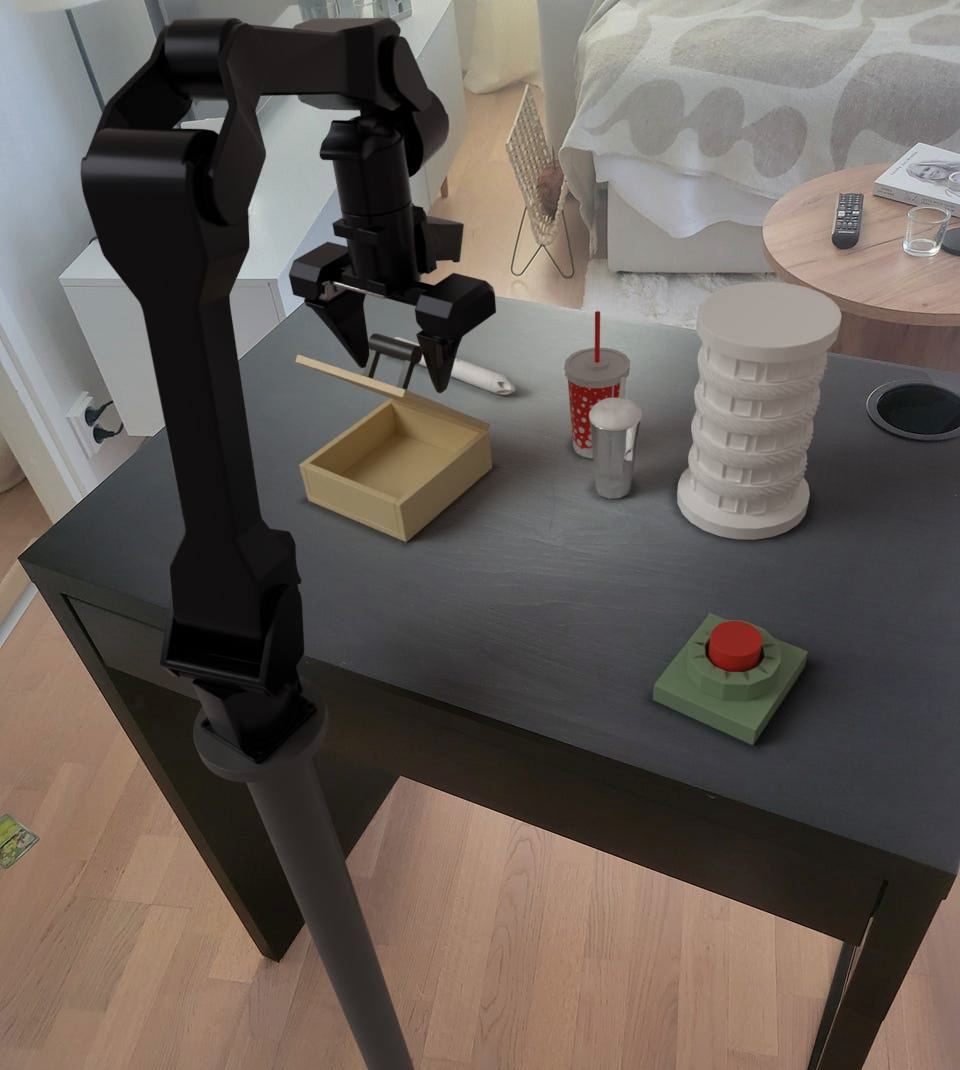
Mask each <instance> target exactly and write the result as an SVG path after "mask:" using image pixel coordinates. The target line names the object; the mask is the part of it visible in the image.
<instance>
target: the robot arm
mask: <svg viewBox="0 0 960 1070" xmlns="http://www.w3.org/2000/svg"><path fill="white" fill-rule="evenodd" d="M401 31H402V30H401V27H400V26H399V24H398V23H397V21H396V20H395V19H393V18H391V17H340V18H339V17H337V18H335V17H334V18H333V17H332V18H325V17H324V18H322V17H321V18H312V19H308V20H306V21H303V22H300V23H298V24H295V25H294V26H293V27H291V28H289V27H279V26H271V25H270V26H269V25H260V24H251V23H248V22H244V21H242V20H241V19H239V18H238V17H182V18H177V19H174V20H172V22H171V23H169V24H166V25H163V27H162V28H161V30H160V32H159V33H158V36H157V38H156V40H155V44H154V46H153V49H152V52H151V54H150V57H149V58H148V60H147V61H146V62H145V63H144V64H143V65H142V66H141V67H140V68H139V69H137V71H136V72H135V73H134V74H133V75H132V76H131V77H130V78H129V79H128V80H127V81H126V82H125V83H124V84H123V85H122V86H121V87H120V88H119V89H118V91H116V92H115V93H114V94H113V95H112V96H111V98H109V99H108V101H107V102H106V104H105V106H104V108H103V111H102V113H101V116H100V117H99V121H98V124H97V126H96V129H95V130H94V131H95V132H94V133H93V137H92V139H91V142H90V144H89V147H88V149H87V151H86V154H85V156H83V157H82V158H81V161H80V173H79V174H80V183H81V190H82V191H81V192H82V195H83V198H84V202H85V205H86V209H87V211H88V214H89V218H90V221H91V223H92V226H93V229H94V232H95V235H96V238H97V241H98V245H99V247H100V251H101V253H102V256H103V257H104V259H105V260H106V261H107V262H108V264H109V265H110V267H111V268H112V269H113V270H114V272H115V273H116V274H117V276H118V277H119V278H120V279H121V281H122V282H123V283H124V285H125V286H126V287H127V289H128V290H129V291H130V292H131V294H132V295H133V296H134V297H135V299H136V300H137V301H138V303H139V304H140V308H141V311H142V315H143V320H144V325H145V331H146V335H147V340H148V346H149V351H150V356H151V361H152V366H153V372H154V376H155V381H156V386H157V393H158V396H159V402H160V408H161V412H162V417H163V422H164V427H165V432H166V439H167V443H168V448H169V454H170V458H171V463H172V468H173V473H174V478H175V479H174V480H175V484H176V488H177V495H178V501H179V504H180V509H181V515H182V521H183V526H184V532H183V535H182V537H181V539H180V541H179V543H178V545H177V548H176V550H175V552H174V553H173V556H172V558H171V560H170V563H169V565H168V575H169V576H168V577H169V584H170V585H169V586H170V587H169V588H170V599H169V605H168V612H167V616H166V622H165V629H164V635H163V639H162V640H163V641H162V647H161V651H160V652H161V653H160V657H159V658H160V659H159V665H160V667H161V668H162V669H164V670H165V671H166V672H167V673H168V674H170V676H172V677H177V678H180V677H181V678H187V679H192V685H193V688H194V690H195V692H196V695H197V697H198V699H199V701H200V704H201V707H203V708H204V711H205V713H206V715H207V718H206V719H205V720H204V721H203V722H202V723H201V728H202V730H203V732H205V733H207V734H208V735H210V736H211V737H213V738H215V739H216V740H218V741H219V742H221V743H222V744H224V745H226V746H227V747H229V748H230V749H232V750H234V751H235V752H237V753H238V754H240V755H242V756H243V757H245V758H246V759H248V760H250V761H251V762H253V763H255V764H260V763H262V762H264V761H265V760H266V759H267V758H268V757H269V756H270V755H271V754H272V753H273V752H274V751H275V750H277V749H278V748H279V747H280V746H281V745H282V744H283V743H284V742H285V741H286V740H287V739H288V738H289V737H290V736H291V735H292V734H293V733H295V732H296V731H297V730H298V729H299V728H300V727H301V726H302V725H303V724H304V723H305V722H306V721H307V720H308V719H309V718H310V717H312V716H313V715H314V714H315V713H316V711H317V708H316V705H315V703H313V702H312V701H310V700H308V699H306V698H304V697H303V696H301V695H300V694H301V693H302V692H303V688H302V684H301V681H300V678H299V675H300V674H299V672H298V669H297V666H298V664H299V662H300V661H301V659H302V658H303V656H304V654H305V635H304V616H303V615H304V614H303V613H304V611H303V598H302V594H301V592H300V589H299V585H301V584H302V578H301V575H300V574H299V570H298V565H297V545H296V541H295V539H294V537H293V535H292V533H291V532H290V531H288V530H282V529H277V528H270V526H269V525H268V524H267V523H266V522H265V520H264V519H263V517H262V512H261V506H260V501H259V500H260V499H259V494H258V485H257V480H256V479H257V478H256V473H255V472H256V471H255V465H254V457H253V452H252V444H251V438H250V437H251V436H250V431H249V423H248V417H247V413H246V412H247V409H246V405H245V404H246V403H245V397H244V389H243V384H242V383H243V382H242V377H241V370H240V362H239V356H238V349H237V342H236V335H235V329H234V322H233V314H232V308H231V293H232V290H233V289H234V286H235V283H236V281H237V279H238V276H239V274H240V271H241V269H242V267H243V265H244V262H245V260H246V258H247V255H248V253H249V250H250V246H251V244H250V219H249V218H250V217H249V208H250V205H251V203H252V199H253V197H254V194H255V191H256V188H257V185H258V182H259V179H260V176H261V174H262V170H263V167H264V164H265V162H266V158H267V149H266V145H265V143H264V138H263V134H262V130H261V127H260V122H259V119H258V116H257V108H258V105H259V102H260V99H261V97H269V96H270V97H274V96H275V97H276V96H297V99H298V100H299V102H300V103H302V104H305V105H308V106H310V107H313V108H316V109H318V110H323V111H324V110H326V111H327V110H328V111H329V110H332V111H358V112H359V115H357V116H354V117H350V118H349V119H333V120H331V121H330V127H329V130H328V133H327V135H326V136H325V137H324V139H323V140H322V142H321V145H320V148H319V158H320V160H322V161H332V167H333V173H334V178H335V182H336V189H337V195H338V200H339V206H340V213H341V218H339V219H337V220H335V221H334V222H332V229H333V230H332V231H333V235H334V237H337V238H342V239H345V240H346V241H345V242H346V245H344V244H339V243H335V242H331V241H326V242H324V243H322V244H321V245H318V246H317V247H315V248H313V249H312V250H310V251H308V252H306V253H304V254H303V255H301V256H299V257H297V258H296V259H295V258H294V260H293V261H292V263H291V267H290V270H289V272H288V278H289V282H290V287H291V291H292V295H293V296H296V297H299V298H302V299H303V303H304V305H305V306H306V307H307V308H310V309H311V310H312V311H314V313H315V314H316V315H317V316H318V318H319V319H320V320H321V321H322V322H323V324H325V326H326V327H327V328H328V329H329V330H330V331H331V333H332V334H333V335H334V336H335V338H336V339H337V340H338V341H339V343H340V344H341V345H342V347H343V348H344V349H345V350H346V352H347V353H348V355H349V356H350V357H351V358H352V360H353V361H354V362H355V363H356V365H357V366H358V367H359V368H360V369H365V368H366V364H367V361H368V358H369V355H370V349H369V345H368V343H369V335H368V329H367V322H366V316H365V315H366V314H365V307H364V303H365V300H366V296H367V295H368V296H371V297H375V298H379V299H382V300H385V299H387V300H391V301H394V302H398V303H401V304H406V305H409V306H413V307H415V308H414V314H415V322H416V324H417V325H418V326H419V327H420V329H421V330H420V331H418V332H417V333H416V334H415V335H416V339H417V343H418V344H419V345H420V348H421V351H422V354H423V357H424V360H425V363H426V366H427V367H426V369H427V371H428V375H429V378H430V380H431V383H432V385H433V387H434V389H435V392H436V393H437V394H442V393H443V392H445V391H447V389H448V387H449V384H450V379H451V372H452V369H453V365H454V361H455V358H457V353H458V351H459V347H460V345H461V342H462V341H463V337H465V336H466V335H467V334H469V333H470V332H471V331H472V330H474V329H475V328H477V327H478V326H480V325H481V324H482V323H484V322H485V321H486V320H488V319H489V318H490V317H492V316H493V315H495V314H496V313H497V304H496V302H497V301H496V292H495V288H494V286H493V285H492V284H490V282H488V281H487V280H484V279H480V278H476V277H472V276H469V275H464V274H460V273H457V272H452V273H451V274H449V275H447V276H446V277H444V278H443V279H442V280H440V281H438V282H437V283H435V284H431V283H428V282H423V281H421V280H422V275H424V274H426V275H430V274H432V273H433V272H434V271H436V270H437V269H438V266H437V265H438V264H437V262H443V261H444V262H447V261H451V262H452V263H456V264H457V263H460V262H461V255H462V247H463V246H462V245H463V237H464V229H465V223H463V222H460V221H456V220H450V219H445V218H441V217H437V216H432V215H427V212H426V211H425V210H424V207H423V206H420V205H419V206H418V205H415V204H414V203H413V199H412V192H411V182H410V178H412V177H414V176H415V175H416V174H417V173H418V172H419V171H420V170H421V169H422V168H423V167H424V166H425V165H426V164H427V163H428V162H429V161H430V160H431V159H432V158H433V157H434V156H435V155H436V154H437V153H438V152H439V151H440V150H441V148H443V147H444V145H445V143H446V142H447V140H448V136H449V132H450V119H449V114H448V113H447V112H446V107H445V106H444V104H443V103H442V101H441V99H440V97H438V96H437V94H436V93H434V92H433V90H432V89H429V87H428V85H427V83H426V80H425V77H424V76H423V74H422V73H423V72H422V71H421V69H420V67H419V64H418V62H417V60H416V57H415V55H414V53H413V50H412V48H411V46H410V44H409V41H408V39H407V38H406V37H405V36H401ZM194 101H196V102H198V101H202V102H203V101H204V102H227V105H228V107H227V110H226V113H225V116H224V119H223V122H222V125H221V127H220V129H219V133H218V132H216V131H215V130H213V129H206V128H186V127H185V128H183V127H179V128H178V127H176V125H178V123H180V121H181V120H183V119H184V117H185V116H187V114H188V113H189V112H190V110H191V108H192V105H193V102H194ZM309 708H312V709H309ZM308 709H309V710H308ZM207 725H209V726H207ZM206 726H207V727H206ZM257 756H260V757H259V758H256V757H257Z"/></svg>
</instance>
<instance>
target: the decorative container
mask: <svg viewBox="0 0 960 1070" xmlns="http://www.w3.org/2000/svg"><path fill="white" fill-rule="evenodd" d="M696 311H697V313H696V322H695V323H696V324H695V326H696V335H697V336H698V338H699V339H700V341H701V342H702V344H701V346H700V348H699V351H698V354H697V358H696V360H697V367H698V374H699V378H698V381H697V383H696V385H695V388H694V392H693V397H694V404H695V408H696V411H695V413H694V416H693V417H692V421H691V425H690V429H691V431H690V432H691V436H692V441H693V442H692V445H691V447H690V449H689V451H688V456H687V458H688V467H687V468H686V469H685V470H684V471H683V472H682V473H681V475H680V478H679V480H678V483H677V492H676V500H677V506H678V508H679V510H680V512H681V514H682V515H683V516H684V517H685V518H686V519H687V520H688V521H689V522H690V523H691V524H692V525H694V526H695V527H697V528H699V529H701V530H702V531H704V532H707V533H709V534H713V535H715V536H717V537H722V538H727V539H732V540H733V539H734V540H747V541H748V540H750V541H754V540H755V541H756V540H762V539H768V538H774V537H777V536H779V535H782V534H784V533H787V532H788V531H790V530H792V529H793V528H795V527H796V526H798V525H799V524H800V523H801V522H802V520H803V519H804V518H805V516H806V513H807V511H808V507H809V506H808V505H809V501H810V496H811V493H810V488H809V487H810V486H809V483H808V482H807V480H806V479H805V477H804V476H805V471H807V466H808V465H809V464H808V462H807V461H808V455H807V451H808V450H809V449H810V445H811V443H812V440H813V439H814V435H813V434H814V433H815V431H814V428H815V425H814V421H813V419H814V417H815V416H816V414H817V411H818V407H819V406H820V405H821V403H820V402H819V401H820V400H821V397H820V396H821V389H820V383H821V382H822V381H823V379H824V376H825V372H826V370H827V369H828V367H827V365H828V363H829V362H828V361H827V360H828V354H827V350H828V349H830V348H831V347H832V346H833V344H835V342H836V341H837V339H838V336H839V332H840V327H841V322H842V317H843V315H842V312H841V309H840V306H838V305H837V303H836V302H835V301H833V299H832V298H830V297H828V296H827V295H825V294H823V293H822V292H820V291H818V290H815V289H813V288H809V287H806V286H803V285H797V284H793V283H788V282H776V281H753V282H746V283H738V284H734V285H729V286H728V287H723V288H721V289H718V290H717V291H714V292H713V293H710V294H709V295H708V296H707V297H705V299H703V300H702V301H701V302H700V304H699V306H698V308H697V310H696Z"/></svg>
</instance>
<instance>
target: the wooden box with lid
mask: <svg viewBox="0 0 960 1070" xmlns="http://www.w3.org/2000/svg"><path fill="white" fill-rule="evenodd" d="M394 338H395V337H391V336H387V335H384V334H381V333H377V332H375V333H372V334H371V335H370V337H369V338H368V342H369V343H368V345H369V353H370V355H369V358H368V361H367V364H366V367H365V368H364V371H363V373H362V374H359V373H356V372H353V371H350V370H347V369H344V368H342V367H338V366H336V365H332V364H328V363H326V362H323V361H321V360H317V359H314V358H311V357H308V356H304V355H302V354H299V353H297V355H296V358H295V363H297V364H299V365H302V366H304V367H308V368H310V369H313V370H315V371H318V372H320V373H323V374H325V375H328V376H331V377H334V378H335V379H338V380H341V381H344V382H347V383H349V384H351V385H354V386H357V387H360V388H363V389H365V390H368V391H370V392H374V393H375V394H378V395H380V396H383V397H386V398H388V399H390V398H391V399H394V400H397V401H400V402H403V403H406V404H409V405H412V406H415V407H418V408H421V409H424V410H427V411H430V412H433V413H436V414H439V415H442V416H445V417H448V418H450V419H453V420H456V421H459V422H462V423H465V424H468V425H471V426H474V427H477V428H480V429H483V430H486V431H489V429H490V426H491V424H490V423H489V422H486V421H484V420H481V419H479V418H477V417H474V416H472V415H469V414H467V413H464V412H462V411H459V410H457V409H455V408H452V407H450V406H447V405H444V404H442V403H440V402H438V401H434V400H432V399H430V398H427V397H425V396H422V395H421V394H417V393H415V392H413V391H410V390H408V388H409V384H410V383H411V379H412V375H413V372H414V369H415V366H416V365H419V364H418V363H419V362H420V361H421V359H422V355H423V354H422V351H421V348H420V346H418V345H414V344H411V343H408V342H404V341H401V340H398V339H394ZM381 355H383V356H386V357H390V358H393V359H396V360H399V361H401V362H403V366H402V369H401V372H400V375H399V377H398V382H397V384H396V385H394V384H390V383H387V382H384V381H380V380H377V379H375V378H374V376H375V374H376V371H377V368H378V364H379V360H380V357H381Z"/></svg>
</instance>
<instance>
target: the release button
mask: <svg viewBox="0 0 960 1070" xmlns="http://www.w3.org/2000/svg"><path fill="white" fill-rule="evenodd" d="M748 623H749V622H748ZM748 623H745V622H741V621H727V622H723V623H721V624H719V625H717V626H716V627H715V628H714V629H713V630H712V632H711V636H710V644H709V652H708V654H709V658H710V660H711V661H712V663H713V664H714V665H715V666H717V667H718V668H720V669H723V670H725V671H727V672H746V671H749V670H751V669H752V668H754V667H755V666H756V665H757V663H758V661H759V657H760V652H761V647H762V636H761V634H760V632H759V631H758V630H757V629H756V628H755V627H753V626H752V625H750V624H748Z"/></svg>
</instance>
